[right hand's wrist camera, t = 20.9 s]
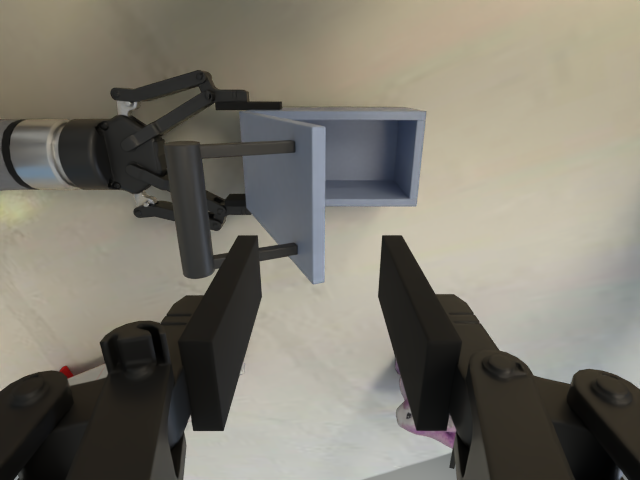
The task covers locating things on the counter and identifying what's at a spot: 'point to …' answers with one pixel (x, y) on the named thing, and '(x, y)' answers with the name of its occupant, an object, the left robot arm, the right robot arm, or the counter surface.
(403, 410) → the figurine
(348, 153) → the chest
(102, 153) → the left robot arm
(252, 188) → the door
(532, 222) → the counter surface
